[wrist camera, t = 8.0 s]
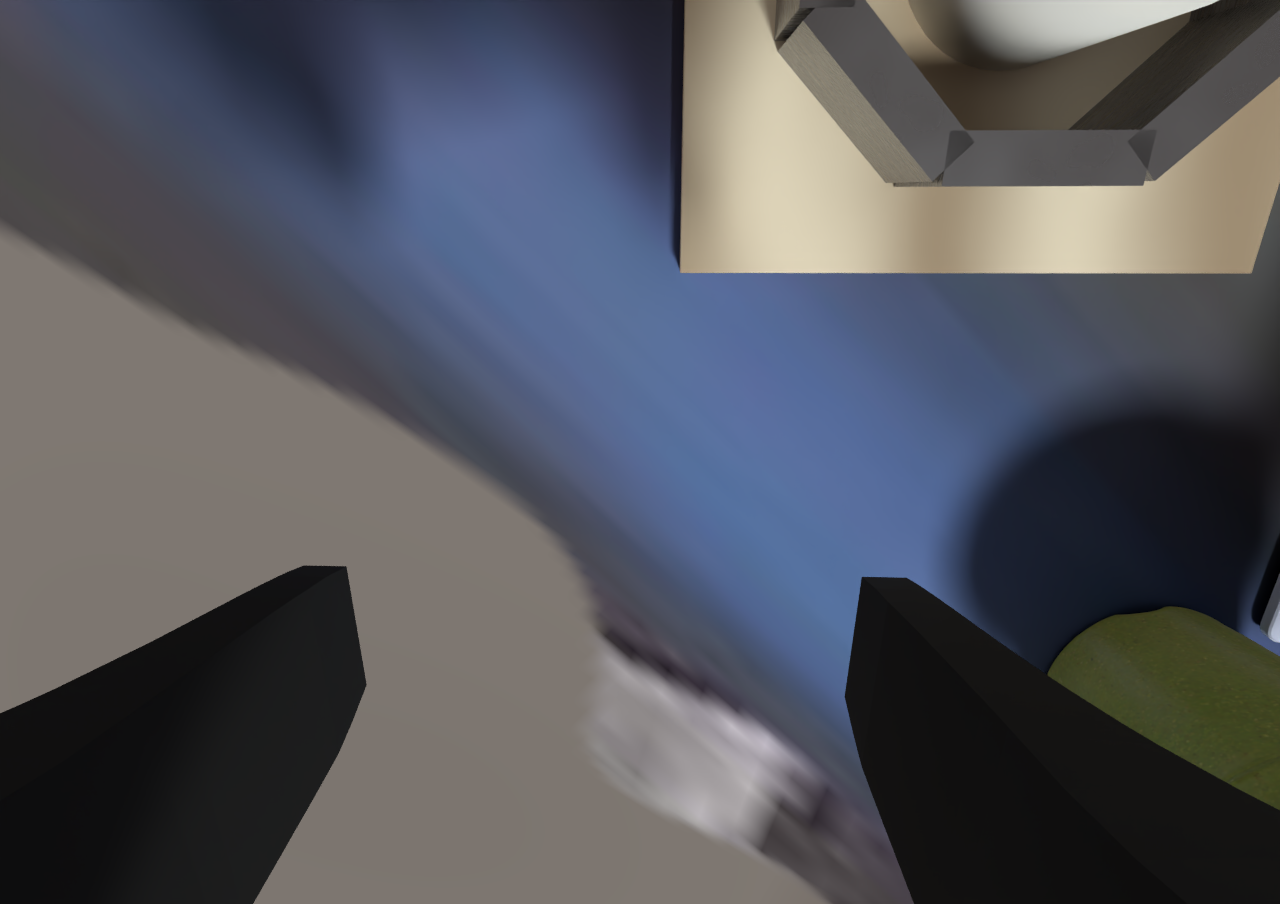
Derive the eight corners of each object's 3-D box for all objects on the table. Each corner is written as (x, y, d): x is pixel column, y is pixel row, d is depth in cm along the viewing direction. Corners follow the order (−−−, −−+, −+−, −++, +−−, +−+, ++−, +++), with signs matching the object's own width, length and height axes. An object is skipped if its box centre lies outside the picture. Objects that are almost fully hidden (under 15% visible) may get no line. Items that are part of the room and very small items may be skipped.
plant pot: (927, 721, 23) (1070, 1011, 15) (1126, 502, 20) (1446, 716, 12) (1139, 826, 24) (1376, 1143, 16) (1356, 636, 21) (1783, 910, 13)
